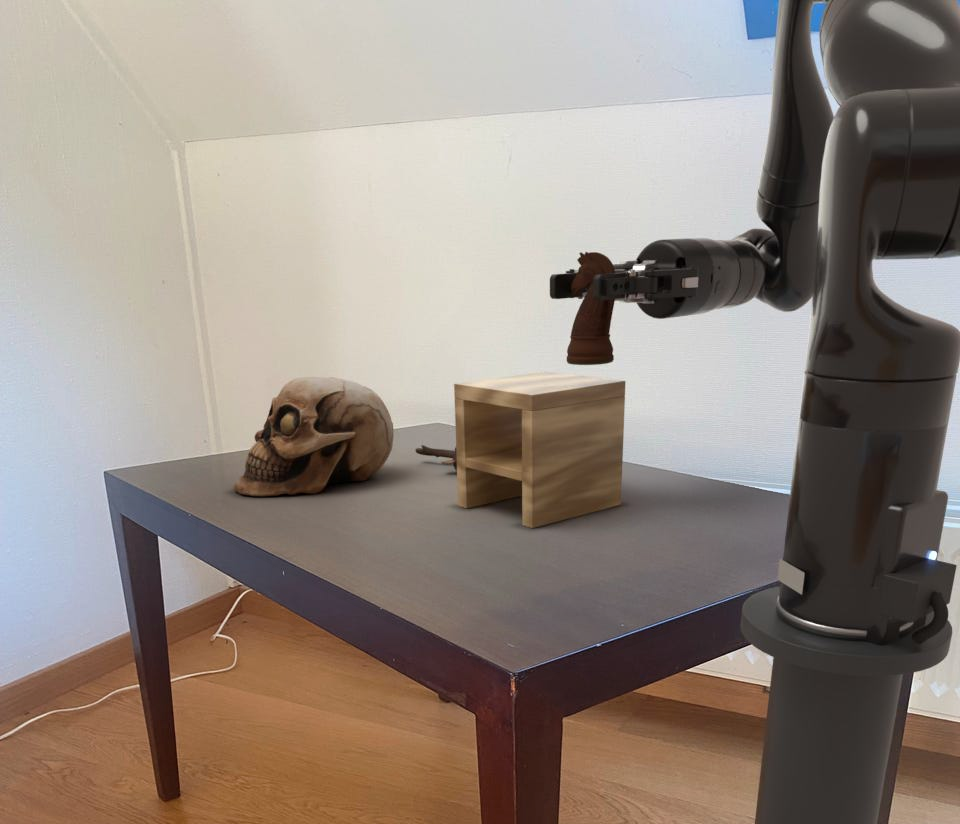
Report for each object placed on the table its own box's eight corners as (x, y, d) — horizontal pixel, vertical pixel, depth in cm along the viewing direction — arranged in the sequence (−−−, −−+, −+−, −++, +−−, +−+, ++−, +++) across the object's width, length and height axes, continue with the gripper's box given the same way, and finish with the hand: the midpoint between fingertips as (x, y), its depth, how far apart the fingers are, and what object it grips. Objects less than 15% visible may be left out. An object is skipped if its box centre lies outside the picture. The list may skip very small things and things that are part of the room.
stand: (621, 504, 99) (625, 380, 93) (532, 528, 91) (532, 395, 86) (545, 485, 107) (545, 371, 102) (458, 506, 100) (453, 383, 95)
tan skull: (222, 492, 107) (217, 374, 103) (302, 476, 122) (301, 372, 118) (339, 507, 102) (339, 383, 97) (407, 488, 117) (410, 380, 113)
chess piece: (584, 358, 93) (584, 251, 89) (626, 360, 90) (629, 249, 86) (557, 363, 90) (556, 253, 86) (600, 366, 86) (601, 251, 82)
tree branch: (573, 435, 119) (519, 445, 107) (571, 469, 120) (517, 481, 108) (456, 426, 128) (395, 433, 116) (456, 457, 129) (395, 467, 117)
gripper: (634, 240, 99) (520, 245, 89) (748, 236, 89) (635, 241, 79) (631, 313, 102) (521, 326, 92) (742, 318, 92) (632, 333, 82)
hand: (574, 287), depth 85 cm, fingers closed on chess piece, 5 cm apart
